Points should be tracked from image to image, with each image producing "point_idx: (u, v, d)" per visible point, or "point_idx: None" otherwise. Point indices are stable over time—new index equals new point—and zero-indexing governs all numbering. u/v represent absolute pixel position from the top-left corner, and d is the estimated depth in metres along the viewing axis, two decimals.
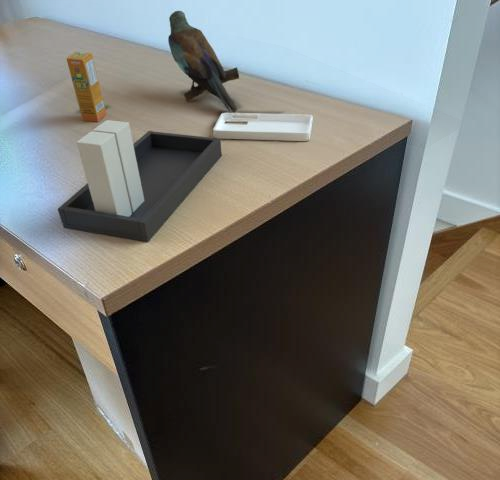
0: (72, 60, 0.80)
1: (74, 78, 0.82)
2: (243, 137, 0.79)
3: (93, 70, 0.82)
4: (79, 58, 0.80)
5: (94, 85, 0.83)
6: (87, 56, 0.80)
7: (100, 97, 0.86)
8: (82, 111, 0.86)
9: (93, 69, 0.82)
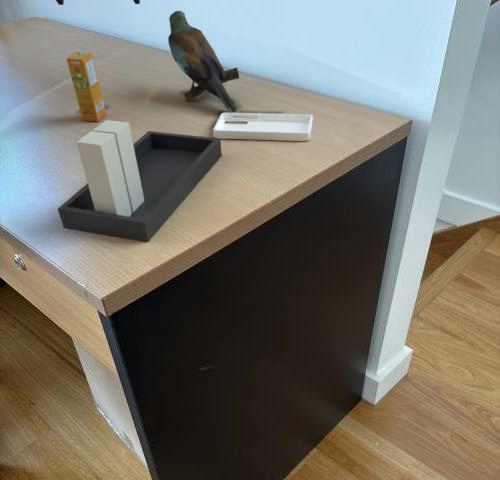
0: (72, 60, 0.80)
1: (74, 78, 0.82)
2: (243, 137, 0.79)
3: (93, 70, 0.82)
4: (79, 58, 0.80)
5: (94, 85, 0.83)
6: (87, 56, 0.80)
7: (100, 97, 0.86)
8: (82, 111, 0.86)
9: (93, 69, 0.82)
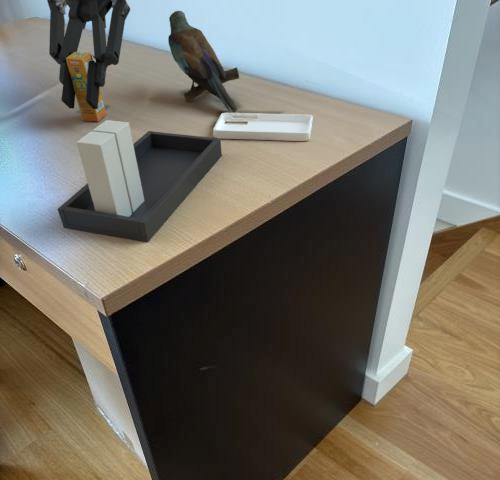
0: (72, 60, 0.80)
1: (74, 78, 0.82)
2: (243, 137, 0.79)
3: None
4: (79, 58, 0.80)
5: None
6: (86, 56, 0.80)
7: (100, 97, 0.86)
8: (82, 111, 0.86)
9: None
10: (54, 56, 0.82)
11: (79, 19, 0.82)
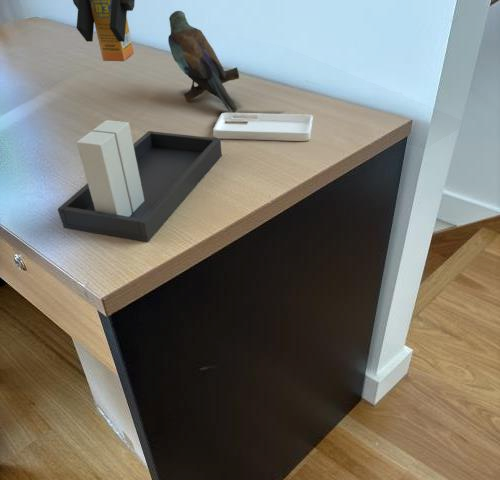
0: None
1: None
2: (243, 137, 0.79)
3: None
4: None
5: None
6: None
7: (127, 28, 0.64)
8: (102, 47, 0.64)
9: None
10: None
11: None
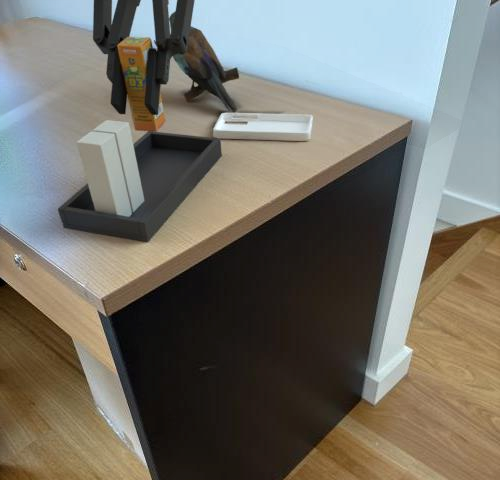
0: (126, 48, 0.58)
1: (127, 73, 0.60)
2: (243, 137, 0.79)
3: None
4: (136, 44, 0.58)
5: None
6: (145, 42, 0.58)
7: (159, 99, 0.63)
8: (135, 118, 0.64)
9: None
10: (99, 43, 0.60)
11: None
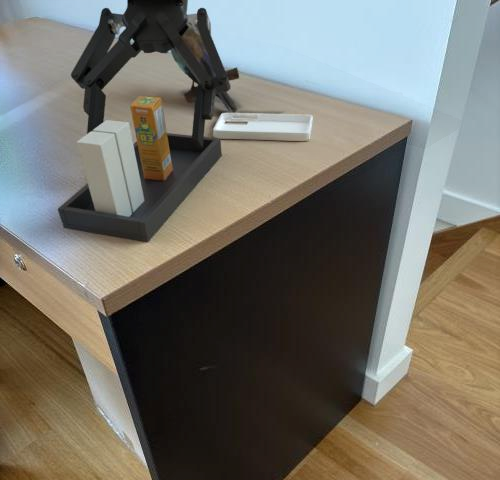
0: (138, 109, 0.62)
1: (139, 130, 0.64)
2: (243, 137, 0.79)
3: (162, 119, 0.65)
4: (147, 105, 0.62)
5: (162, 137, 0.66)
6: (156, 103, 0.63)
7: (168, 150, 0.68)
8: (144, 168, 0.68)
9: (162, 117, 0.65)
10: (75, 79, 0.65)
11: (131, 46, 0.65)
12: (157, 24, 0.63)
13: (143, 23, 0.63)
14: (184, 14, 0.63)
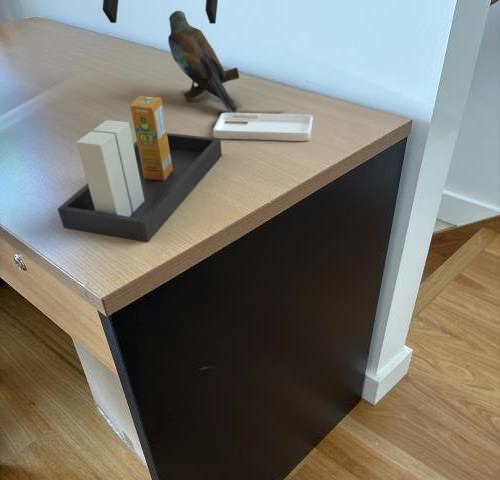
0: (138, 109, 0.62)
1: (139, 130, 0.64)
2: (243, 137, 0.79)
3: (162, 119, 0.65)
4: (147, 105, 0.62)
5: (162, 137, 0.66)
6: (156, 103, 0.63)
7: (168, 150, 0.68)
8: (144, 168, 0.68)
9: (162, 117, 0.65)
10: None
11: None
12: None
13: None
14: None
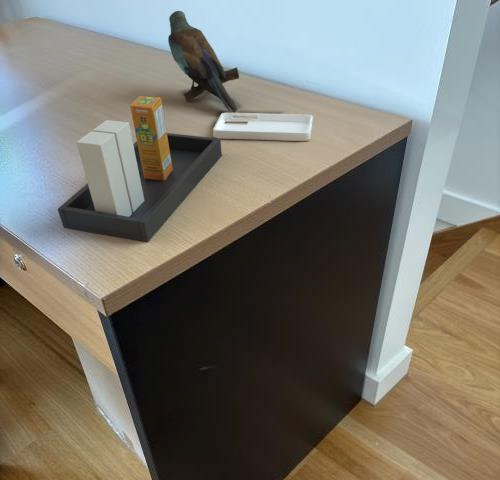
0: (138, 109, 0.62)
1: (139, 130, 0.64)
2: (243, 137, 0.79)
3: (162, 119, 0.65)
4: (147, 105, 0.62)
5: (162, 137, 0.66)
6: (156, 103, 0.63)
7: (168, 150, 0.68)
8: (144, 168, 0.68)
9: (162, 117, 0.65)
10: None
11: None
12: None
13: None
14: None
